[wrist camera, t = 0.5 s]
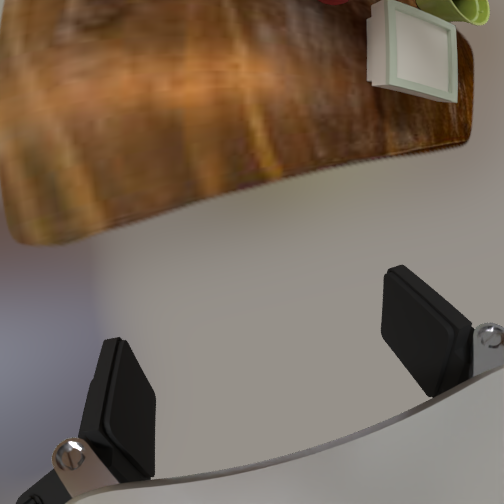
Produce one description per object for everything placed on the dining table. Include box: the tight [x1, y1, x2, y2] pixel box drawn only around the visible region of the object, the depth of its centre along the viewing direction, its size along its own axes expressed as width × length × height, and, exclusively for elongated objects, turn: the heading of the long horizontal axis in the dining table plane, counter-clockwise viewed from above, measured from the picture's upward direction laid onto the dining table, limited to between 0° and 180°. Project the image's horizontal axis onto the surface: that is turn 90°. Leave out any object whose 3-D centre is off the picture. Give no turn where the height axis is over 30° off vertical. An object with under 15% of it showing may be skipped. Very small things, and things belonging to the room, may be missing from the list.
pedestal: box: [366, 0, 458, 103], centre depth 31 cm, size 11×11×7 cm
